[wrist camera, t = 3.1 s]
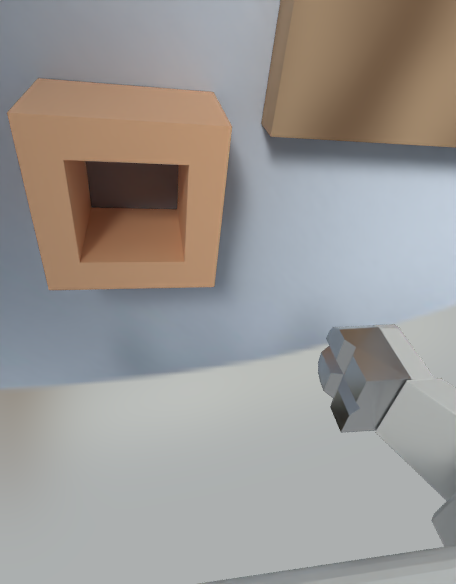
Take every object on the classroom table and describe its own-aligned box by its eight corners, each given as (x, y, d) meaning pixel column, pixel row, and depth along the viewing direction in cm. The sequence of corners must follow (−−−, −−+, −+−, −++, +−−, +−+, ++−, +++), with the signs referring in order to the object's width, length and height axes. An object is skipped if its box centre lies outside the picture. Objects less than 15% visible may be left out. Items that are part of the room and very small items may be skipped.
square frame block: (65, 231, 17) (49, 290, 14) (38, 78, 13) (7, 112, 10) (202, 232, 18) (214, 286, 15) (213, 92, 14) (231, 126, 11)
